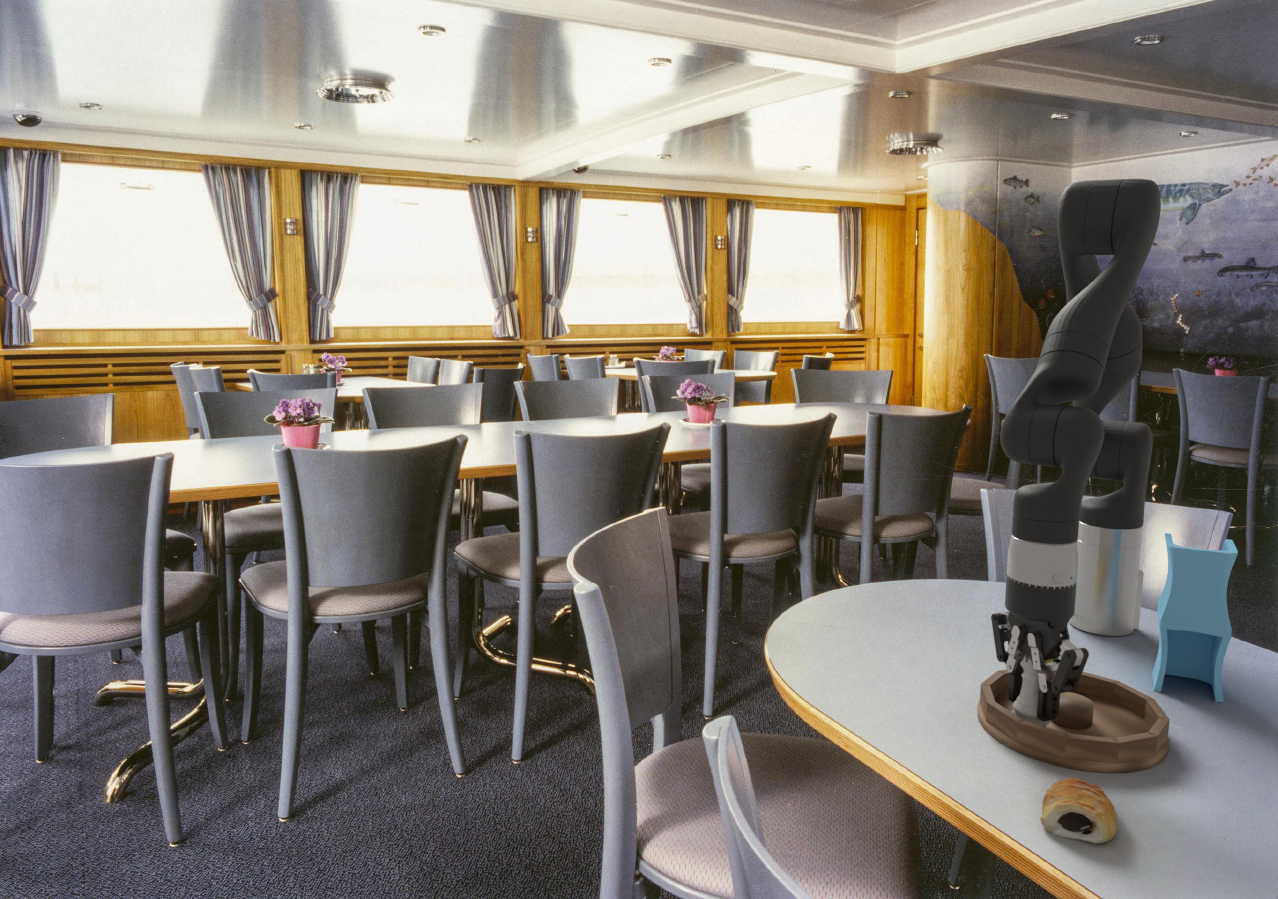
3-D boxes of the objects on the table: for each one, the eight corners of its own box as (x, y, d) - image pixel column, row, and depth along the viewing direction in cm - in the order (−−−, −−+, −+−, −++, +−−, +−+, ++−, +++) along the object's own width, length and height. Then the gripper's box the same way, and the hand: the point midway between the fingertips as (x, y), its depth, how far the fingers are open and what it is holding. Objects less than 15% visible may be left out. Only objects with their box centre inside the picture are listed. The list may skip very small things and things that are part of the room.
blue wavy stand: (1217, 679, 120) (1232, 539, 116) (1223, 702, 113) (1240, 554, 110) (1151, 668, 123) (1164, 532, 120) (1153, 690, 117) (1167, 546, 113)
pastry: (1047, 787, 94) (1049, 755, 93) (1117, 805, 91) (1121, 772, 90) (1038, 833, 86) (1041, 798, 85) (1115, 855, 83) (1119, 818, 82)
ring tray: (1074, 681, 120) (1076, 657, 119) (1212, 756, 100) (1215, 727, 99) (942, 701, 114) (944, 676, 113) (1061, 785, 94) (1064, 755, 93)
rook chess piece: (1049, 714, 106) (1053, 652, 105) (1053, 731, 102) (1058, 667, 101) (1009, 708, 108) (1013, 648, 106) (1012, 725, 104) (1016, 662, 102)
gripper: (1116, 589, 96) (1103, 733, 99) (1025, 554, 110) (1016, 681, 113) (1060, 596, 94) (1049, 743, 97) (974, 559, 108) (967, 689, 110)
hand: (1031, 709), depth 105 cm, fingers closed on rook chess piece, 4 cm apart
